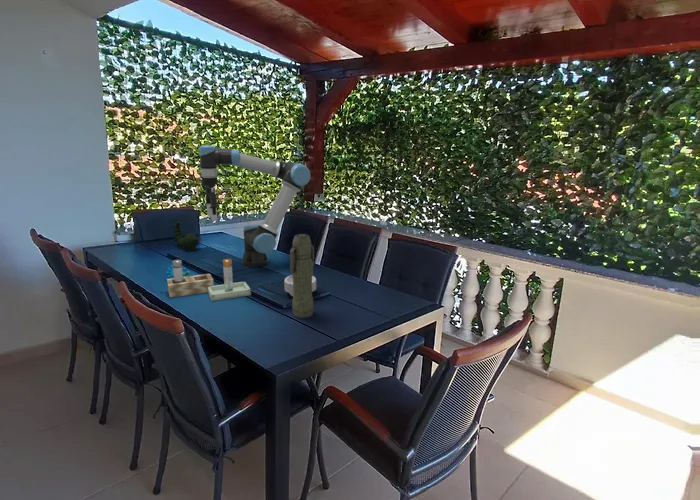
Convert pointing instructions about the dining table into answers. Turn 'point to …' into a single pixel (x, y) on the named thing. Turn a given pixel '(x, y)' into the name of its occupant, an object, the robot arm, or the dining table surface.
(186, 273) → the teal spiky toy
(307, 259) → the thermos
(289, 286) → the paper bowls
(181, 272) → the grey capped shaker
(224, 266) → the hitch pin
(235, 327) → the dining table surface
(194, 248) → the toy figurine
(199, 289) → the block
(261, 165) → the robot arm
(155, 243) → the dining table surface
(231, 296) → the tray
